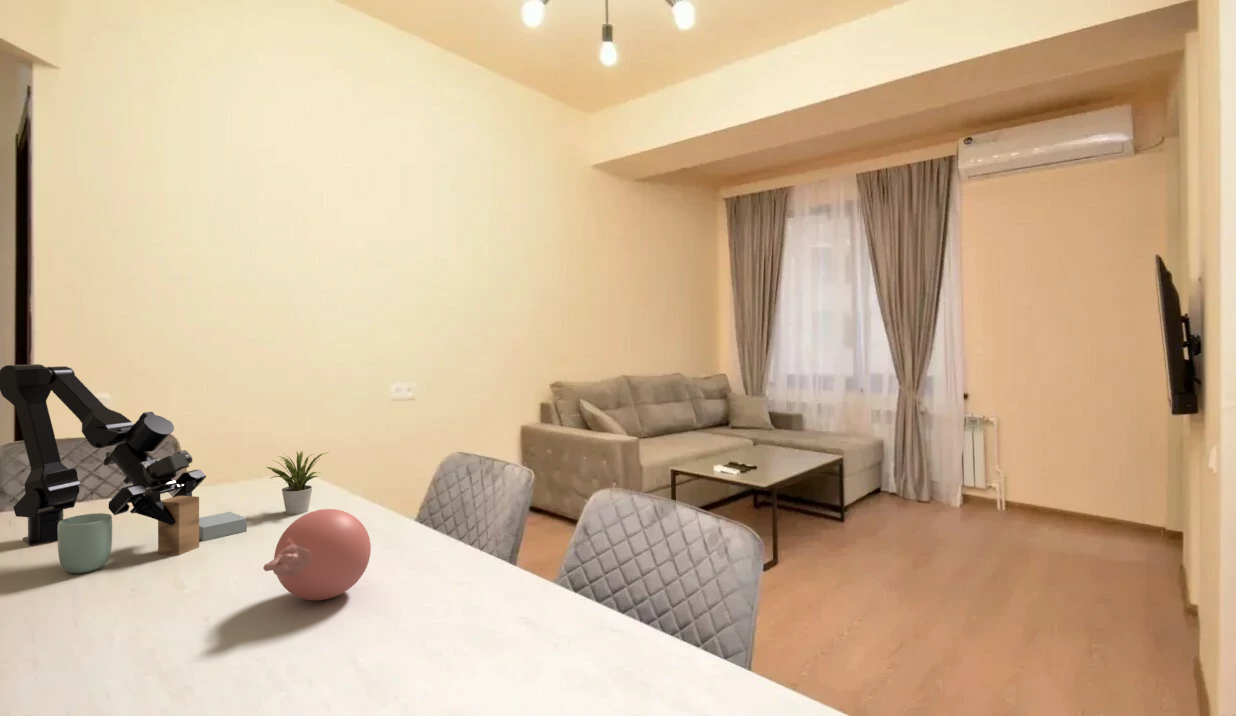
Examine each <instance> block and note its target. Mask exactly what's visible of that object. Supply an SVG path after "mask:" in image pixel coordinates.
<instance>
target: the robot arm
mask: <svg viewBox="0 0 1236 716" xmlns="http://www.w3.org/2000/svg"><path fill="white" fill-rule="evenodd" d="M51 391H52V393H53V394H54V395H55V396H56V397H57V398H58V399H59V400H60V401H61V402H62V403H63V404H64V405H65V406H66V407H67V409H68V410H70V412H72V414H73V415H75V417H76V418H77V419H79V422H81V433H82V434H83V436H84V437H85V439H86V440H87V442H88V443H89V444H90V446H92V447H93V448H95V449H105V448H110V447H114V448H113V450H111V451H107V452H106V453H105V457H104V459H103V465H104V466H110V465H114V464H115V465H116V466H117V468H118V469H120V471H121V473H123V474H124V475H125V478H124V479H123V482H124V484H125V485H128V484H129V485H128V486H125V487H122V488H121V489H120V490H118V492H117V493H116V494H115V495H114V496H113V497H112V498H111V499H110V501H109V502H108V509H109V512H111V513H112V514H113V516H117V515H121V514H124V513H126V512H127V513H128V511H129V513H131V514H138V515H140V516H144V517H147V518H151V519H154V520H156V521H158V520H159V521H161V522H164V523H167V524H169V525H173V524H174V523H175V522H176V521H175V519H174V517H173V516H172V514H171V513H170V512H169V510H168V509H167V508H166V507H165V505H164V504H163V503H162V501H161V499H162V498H161V495H162V494H165V493H168V494H169V495H170V496H171V498H172V497H175V496H193V492H194V491H195V489H196V488H197V487H198V486H199V485H200V484H201V483H202V482H203V481H204V480H205V478H207V475H206V474H205V473H204V472H203V471H202V470H201V469H193V470H189V471H185V472H182V474H180V475H179V477H178V478H177V479H176V480H173V479H174V478H175V477H177V476H178V473H177V472H179V471H181V470H183V469H187V468H189V467H190V464H191V463H193V456H192V454H191V453H189V452H188V451H187V450H185V449H184V450H179V451H178V452H175V453H173V454H172V455H169V456H165V457H163V458H154V457H153V455H152V454H151V453H150V452H155V451H156V450H157V449H159V447H161V445H162V444H163V443H164V442H165V441H166V440H167V439H168V438H169V437H170V436H171V434H172V433H173V432H174V430H175V426H174V424H173V422H172V421H171V420H168V419H167V418H165V417H163V416H161V415H157V414H155V413H154V412H153V411H147V412H145V411H144V412H142V414H141V415H140V416H139V418H138V419H137V420H136V421H135V423H133V422H132V420H130V419H129V418H127V417H126V416H125V415H123V414H122V413H121V412H118V411H116V410H112V409H109V408H108V407H106V406H105V405H104V404H103V402H101V401H100V400H99V398H98V397H96V395H94V393H92V391H91V390H90V389H89V388H88V387H87V386H86V385H85V384H84V383H83V382H82V381H81V380H80V378H78V377H77V376H76V374H75V371H74V369H73V368H71V367H68V366H66V365H65V366H45V365H43V364H38V363H36V364H9V365H5V366H2V368H0V394H1V396H2V397H3V398H4V399H6V400H7V401H8V402H9V403H11V405H13V406H14V407H15V411H16V414H17V418H18V423H19V427H20V430H21V434H22V438H23V443H24V446H25V450H26V454H27V458H28V463H29V467H30V471H29V474H28V476H27V478H26V480H25V482H24V493H25V494H24V495H23V496H22V497H21V498H20V499H19V500H18V501H17V502H16V503H15V504H14V506H13V511H14V515H15V517H19V518H27V536H24V537H22V541H23V542H25V543H26V544H27V545H28V546H34V545H35V546H36V545H39V544H40V545H41V544H44V543H50V542H51V543H52V542H55V541H58V522H59V521H61V520H63V519H64V510H66V509H71V508H72V509H73V508H75V505H76V503H77V499H78V496H79V494H80V486H81V485H82V484H81V482H80V480H79V477H78V471H77V469H76V468H75V467H72V468H68V466H66V465H64V464H63V462H62V459H61V455H60V451H59V448H58V447H59V446H58V443H57V440H56V439H57V438H56V437H55V436H56V435H55V432H54V428H53V424H52V420H51V416H50V411H49V408H48V404H47V403H48V402H47V400H48V398H49V396H50V394H51ZM130 484H132V485H130ZM130 503H131V505H132V507H133V508H131V510H129V509H130V505H129V504H130Z"/></svg>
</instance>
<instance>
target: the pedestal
mask: <svg viewBox="0 0 1236 716" xmlns="http://www.w3.org/2000/svg"><path fill="white" fill-rule="evenodd" d="M247 523H248V518H247V517H244V516H241V515H240V514H236V513H234V512H232V511H227V512H222V513H217V514H213V515H206V516H201V517H199V541H200V540H201V541H203V542H205V541H210V540H213V539H218V538H222V537H227V536H231V535H235V534H239V533H244V532H247V530H248V525H247Z"/></svg>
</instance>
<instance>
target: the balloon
mask: <svg viewBox="0 0 1236 716" xmlns="http://www.w3.org/2000/svg"><path fill="white" fill-rule="evenodd" d="M371 550H372V545H371V539H370V535H369V533H368V530H367V528H366V527H365V525H364V524H363V523H362V522H361V521H360V519H358V518H357V517H356V516H355V515H354V514H351V513H349V512H347V511H344V510H340V509H335V508H324V509H316V510H314V511H313V510H312V511H310V512H308V513H306V514H305V513H304V514H303V515H302V516H300V517H298V518H297V519H295V520H294V521H293V522H292V523H291V524H290V525H288V527H287V528H286V529H285V530H284V532H282V535H281V536H280V538H279V540H278V542H277V543H276V547H275V550H274V556H273V557H274V558H273V559H272V560H271V561H269V562H268V563H265V564H264V565H263V567H262V568H263V569H262V570H264V571H265V572H270V571H273V574H274V575H276V577H277V579H278V581H279V582H280V584H281V585H282V586H283V588H284V589H285V590H286V591H287V592H288V593H290V594H291V595H293V596H295V597H297V598H300V599H302V600H303V599H304V600H308V601H324V600H325V601H326V600H329V599H332V598H335V597H338V596H340V595H342V594H344V593H345V592H347V591H349V590H350V589H351V588H352V587H353V586H355V584H357V583H358V582H359V580H360V579H361V578H362V577H363V575H364V573H365V572H366V570H367V568H368V565H369V562H370V557H371V552H372V551H371Z"/></svg>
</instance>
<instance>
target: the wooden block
mask: <svg viewBox="0 0 1236 716" xmlns="http://www.w3.org/2000/svg"><path fill="white" fill-rule="evenodd" d="M161 501H162V503H163V504H164V505H165V507H166V508H167V509H168V510H169V512H170V513H171V514H172V516H173V517H174V519H175V521H176V522H175V523H174V524H173V525H169V524H167V523H164V522H161V521H159V520H157V548H158V550H157V554H161V555H175V556H180V555H183V554H186V553H188V552H190V551H194V550H196V549H197V548H200V539H199V518H200V496H193V495H192V496H175V497H172V496H171V497H169V498H166V499H162V500H161Z"/></svg>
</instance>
